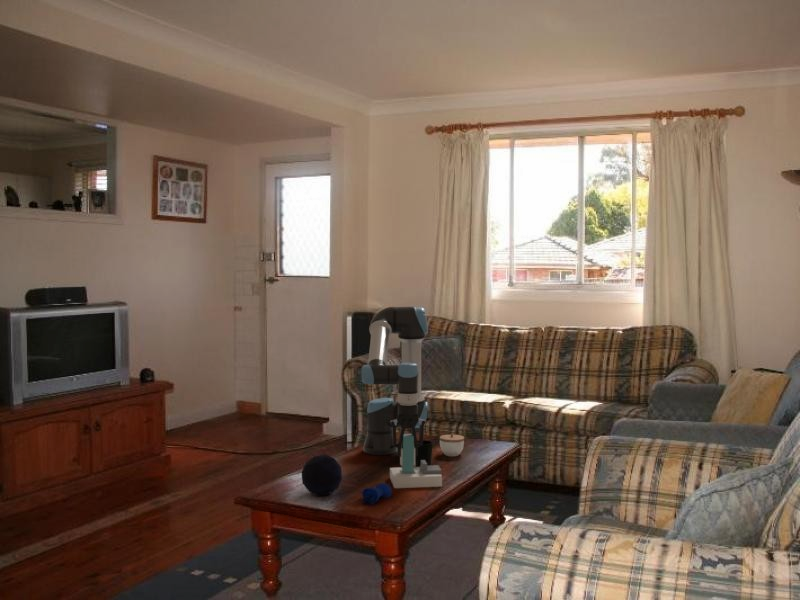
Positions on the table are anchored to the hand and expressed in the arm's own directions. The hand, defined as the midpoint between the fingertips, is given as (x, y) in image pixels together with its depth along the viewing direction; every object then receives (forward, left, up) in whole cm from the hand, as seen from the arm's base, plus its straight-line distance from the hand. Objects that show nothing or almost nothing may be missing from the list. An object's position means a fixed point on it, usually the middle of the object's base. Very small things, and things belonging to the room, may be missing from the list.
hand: (407, 464), depth 300 cm
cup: (-14, +8, -7) cm, 18 cm away
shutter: (0, +9, -3) cm, 9 cm away
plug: (0, 0, -3) cm, 3 cm away
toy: (+19, -14, -7) cm, 25 cm away
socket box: (0, +3, -7) cm, 8 cm away
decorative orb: (+11, -33, -7) cm, 36 cm away
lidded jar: (-40, +25, -7) cm, 48 cm away
